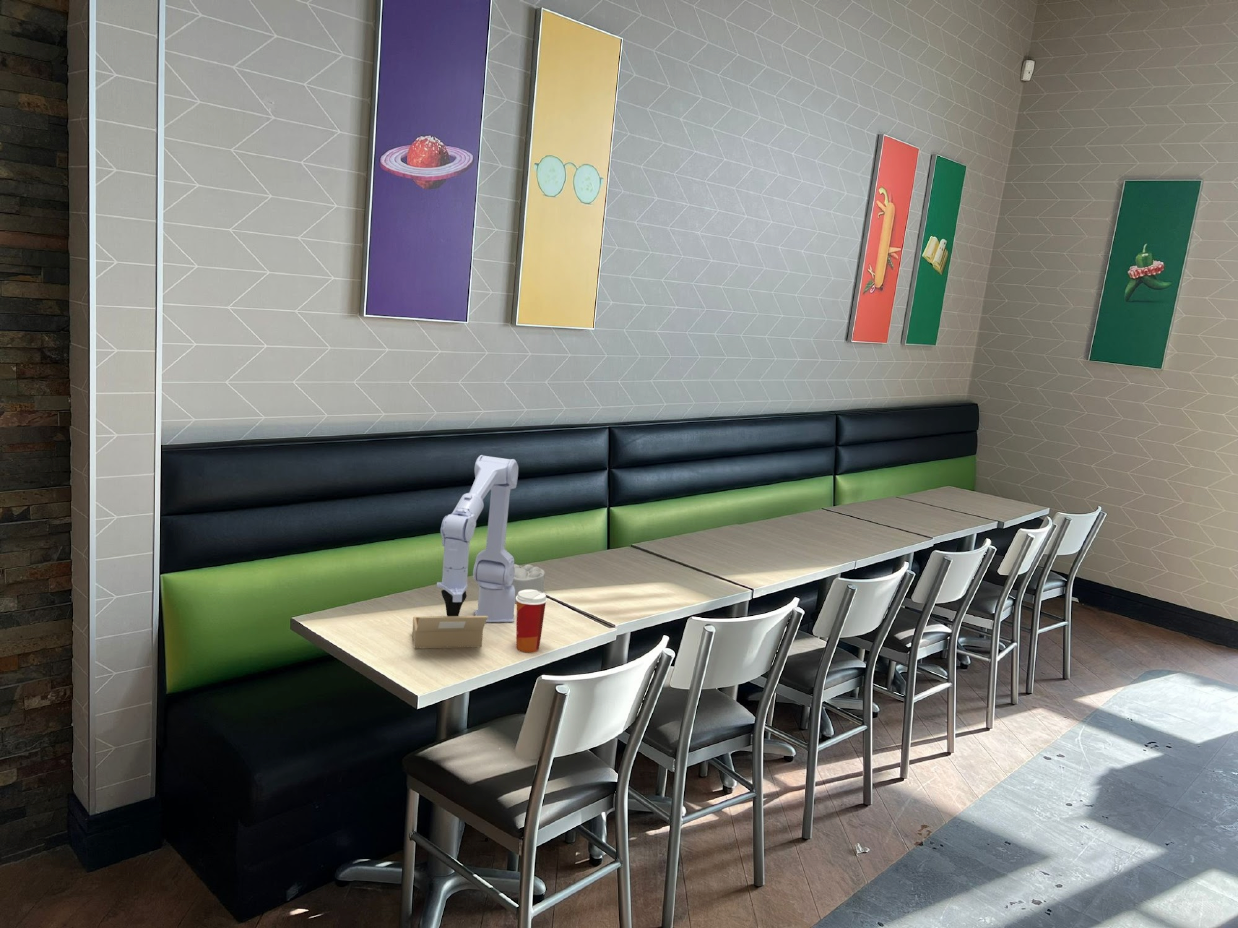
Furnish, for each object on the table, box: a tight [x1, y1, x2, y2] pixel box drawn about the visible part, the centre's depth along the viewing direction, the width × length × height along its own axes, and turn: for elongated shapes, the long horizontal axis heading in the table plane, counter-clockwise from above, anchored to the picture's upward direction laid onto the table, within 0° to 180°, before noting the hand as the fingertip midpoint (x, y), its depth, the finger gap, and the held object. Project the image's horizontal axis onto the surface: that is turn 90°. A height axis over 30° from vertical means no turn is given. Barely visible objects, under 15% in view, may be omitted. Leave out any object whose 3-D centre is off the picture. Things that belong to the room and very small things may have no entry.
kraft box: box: [411, 616, 484, 649], centre depth 224 cm, size 16×9×4 cm, turn 106°
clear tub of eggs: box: [511, 563, 546, 605], centre depth 260 cm, size 10×13×9 cm
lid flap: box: [416, 615, 488, 632], centre depth 215 cm, size 16×9×1 cm
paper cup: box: [515, 590, 548, 654], centre depth 223 cm, size 8×8×14 cm
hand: (452, 620), depth 215 cm, fingers closed
